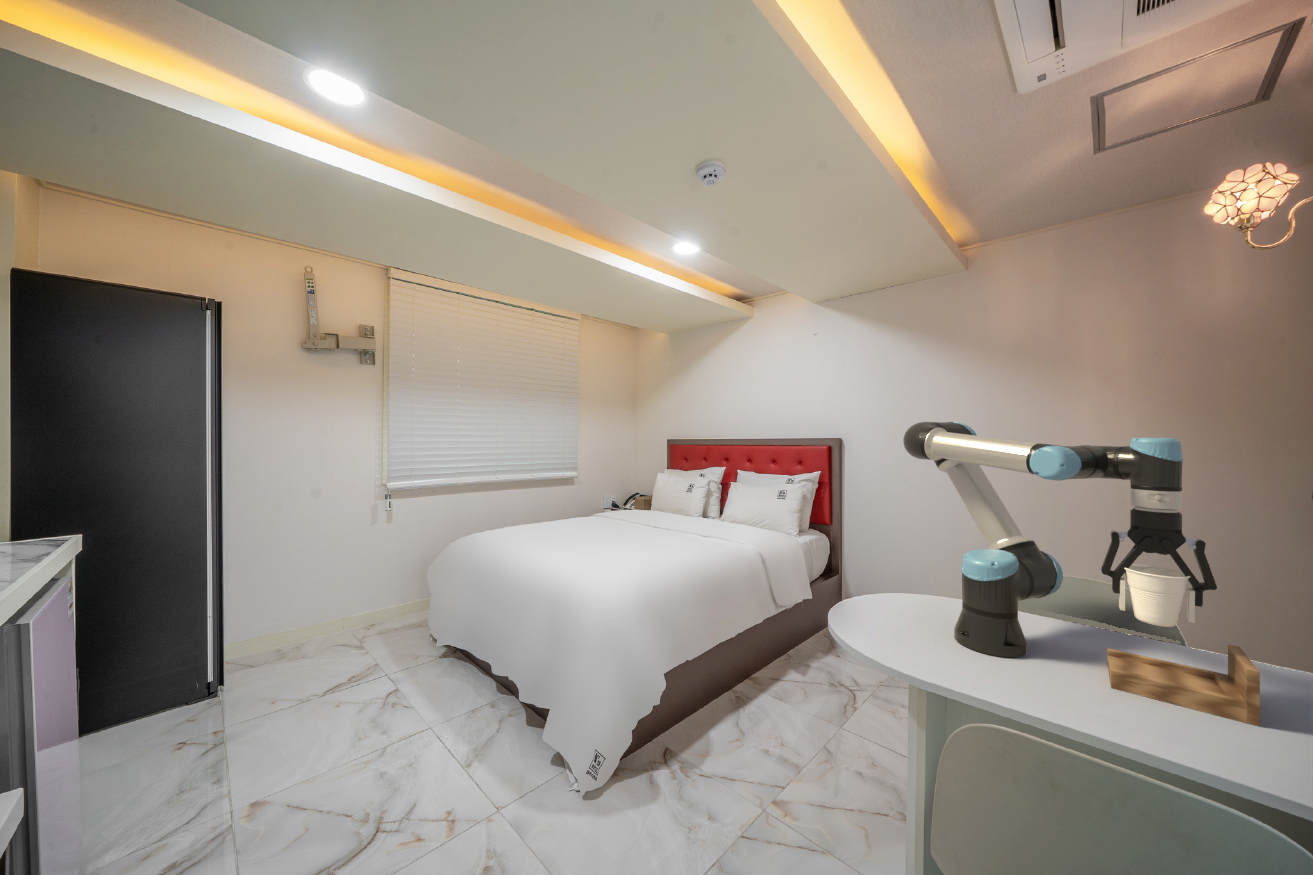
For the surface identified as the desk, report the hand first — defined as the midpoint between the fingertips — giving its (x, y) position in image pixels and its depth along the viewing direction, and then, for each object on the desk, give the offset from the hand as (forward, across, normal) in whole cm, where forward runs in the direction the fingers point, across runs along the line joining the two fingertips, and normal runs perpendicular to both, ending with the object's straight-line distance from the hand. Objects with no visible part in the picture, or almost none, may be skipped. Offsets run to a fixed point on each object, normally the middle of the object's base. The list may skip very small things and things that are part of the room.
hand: (1155, 614), depth 99 cm
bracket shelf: (+15, +2, 0) cm, 15 cm away
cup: (+2, 0, 0) cm, 2 cm away
